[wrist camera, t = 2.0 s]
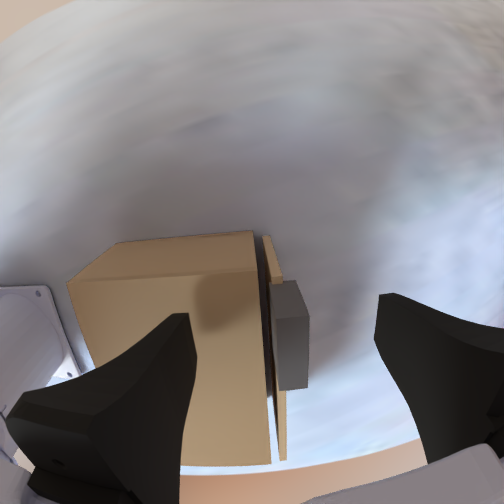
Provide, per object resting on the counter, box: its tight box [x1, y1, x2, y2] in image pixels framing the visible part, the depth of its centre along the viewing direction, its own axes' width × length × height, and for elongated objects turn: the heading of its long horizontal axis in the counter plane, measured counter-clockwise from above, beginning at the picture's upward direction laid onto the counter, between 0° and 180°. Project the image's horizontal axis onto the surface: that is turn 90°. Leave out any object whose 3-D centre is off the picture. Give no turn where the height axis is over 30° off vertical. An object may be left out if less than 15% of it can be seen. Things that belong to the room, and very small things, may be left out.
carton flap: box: [262, 235, 309, 461], centre depth 15 cm, size 1×12×8 cm, turn 4°
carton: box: [66, 231, 271, 466], centre depth 16 cm, size 8×13×6 cm, turn 4°
